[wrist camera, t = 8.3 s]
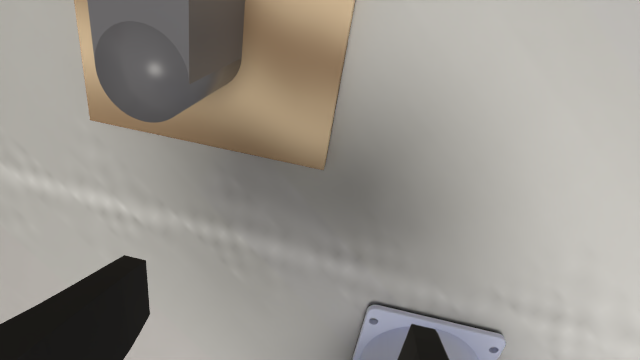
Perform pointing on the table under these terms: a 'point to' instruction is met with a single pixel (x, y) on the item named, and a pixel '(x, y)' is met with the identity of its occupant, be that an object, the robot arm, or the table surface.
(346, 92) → the table surface
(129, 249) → the table surface
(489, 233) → the table surface
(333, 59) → the cork coaster
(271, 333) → the table surface
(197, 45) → the usb plug
